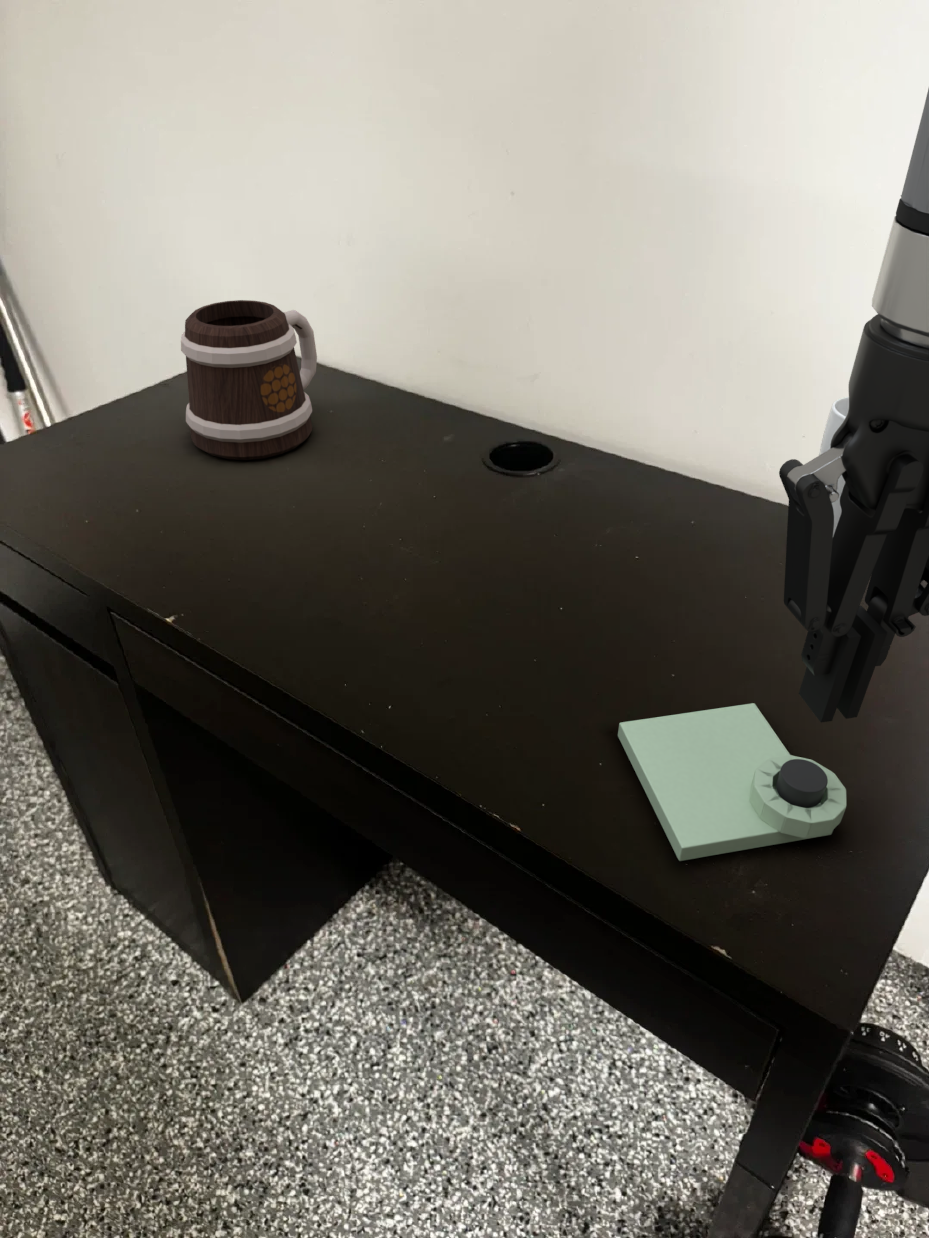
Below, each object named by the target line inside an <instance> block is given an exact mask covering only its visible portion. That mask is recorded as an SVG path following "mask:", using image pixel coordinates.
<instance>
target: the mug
mask: <svg viewBox="0 0 929 1238" xmlns="http://www.w3.org/2000/svg"><path fill="white" fill-rule="evenodd" d="M295 332H296V333H295ZM296 334H297V335H298V342H297V335H296ZM297 343H299V349H300V350H299V351H300V356H301V361H300V362H301V363H300V365H301V366H300V368H299V364H298V360H297V354H296V350H295V346H296V344H297ZM180 351H181V353H183V354H184V356H185V366H186V377H187V379H186V380H187V390H188V403H187V404H186V409H185V422H186V424H187V426H189V430H190V431H189V432H190V440H191V441H192V442H193V444H194V446H196V448H198V449H200V450H201V451H203V452H205V453H207V454H209V455H211V456H213V457H217V458H221V459H226V460H235V461H236V460H237V461H252V460H260V459H261V460H262V459H267V458H271V457H276V456H280V455H283V454H285V453H287V452H290V451H292V450H295V449H296V448H297V447H299V446H300V445H301V444H303V443H304V442H305V441H306V440H307V439H308V438H309V436H310V434H311V433H312V431H313V424H312V418H311V415H312V413H313V407H312V402H311V398H310V396H309V395H308V394H307V393H306V392H305V389H307V388H308V387H309V385H310V384H311V381H312V380H313V378H314V376H315V374H316V373H317V363H318V355H317V346H316V340H315V333H314V330H313V328H312V326H311V324H310V322H309V321H308V318H307V317H306V316H304V315H303V314H302V313H300V312H299V311H297V310H295V309H291V310H287V311H283V310H282V309H280V308H278V307H277V306H276V305H274V304H271V303H268V302H265V301H260V300H259V301H258V300H250V299H249V300H247V299H235V300H224V301H219V302H213V303H210V304H207V305H202V306H201V307H198V308H197V309H195V310H193V312H192V313H190V315H189V316H188V317H187V318H186V319H185V321H184V331H183V332H182V334H181V336H180Z"/></svg>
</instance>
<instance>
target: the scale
mask: <svg viewBox="0 0 929 1238" xmlns="http://www.w3.org/2000/svg"><path fill="white" fill-rule="evenodd" d="M617 738H618V739H619V741H620V743H621V745H622V747H623V749H624V752H625V754H626V756H627V758H628V761H630V764H631V765H632V768H633V770H634V771H635V774H636V776H637V778H638V780H639V782H640V785H641V786H642V788H643V790H644V792H645V794H646V797H647V798H648V801H649V803H650V805H651V808H652V809H653V811H654V813H655V815H656V818H657V819H658V821H659V823H660V825H661V827H662V829H663V831H664V833H665V835H666V837H667V839H668V841H669V844H670V845H671V847H672V849H673V851H674V854H675V856H676V858H677V860H678V861H679V862H683V861H689V860H694V859H699V858H705V857H706V858H707V857H712V856H716V855H717V856H718V855H723V854H728V853H735V852H739V851H740V852H741V851H746V850H752V849H757V848H763V847H769V846H773V845H774V846H775V845H780V844H786V843H792V842H797V841H802V840H809V839H814V838H820V837H826V836H831V835H832V834H833V832H834V829H836V828H837V826H839V825H840V824H841V822H842V820H843V817H844V814H845V812H846V810H847V788H846V787H845V785H844V784H843V783H842V782H841V780H840V778H838V776H837V775H836V773H834V772H833V771H832V770H830V769H828V768H827V767H825V766H823V765H822V764H820V763H818V762H817V761H815V760H813V759H809V758H807V757H800V756H797V755H792V754H791V753H790V752H789V751H788V750H787V748H786V746H785V745H784V744H783V743H782V741H781V739H780V738H779V736H778V735H777V734H776V732H775V731H774V729H773V728H772V726H771V725H770V723H769V722H768V720H767V719H766V717H765V716H764V714H762V712H761V711H760V709H759V708H758V706H757V704H756V703H755V702H754V703H753V702H751V703H745V704H738V705H732V706H725V707H724V706H723V707H719V708H711V709H705V710H697V711H691V712H683V713H677V714H671V715H663V716H657V717H650V718H649V717H648V718H643V719H635V720H628V721H623V722H619V724H618V730H617ZM793 759H802V760H807V761H810V762H812V763H814V764H816V765H818V766H819V767H820V768H821V769H822V770H823V771H824V772H825V774H826V776H827V779H828V783H827V786H826V789H825V792H824V795H823V798H822V800H821V802H820V803H819V804H818V805H816V806H814V807H809V808H803V807H798V806H794V805H791V804H789V803H788V802H786V801H785V800H784V799H782V798H781V797H780V795H779V794H778V792H777V789H776V782H777V779H778V776H779V773H780V769H781V767H782V765H783V764H784V763H785V762H787V761H789V760H793Z"/></svg>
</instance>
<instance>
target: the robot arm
mask: <svg viewBox="0 0 929 1238" xmlns="http://www.w3.org/2000/svg"><path fill="white" fill-rule="evenodd" d="M888 235H889V236H888V239H887V243H886V247H885V250H884V254H883V258H882V262H881V265H880V268H879V271H878V276H877V279H876V283H875V287H874V291H873V294H872V298H871V307H872V308H873V309H874V311H875V313H876V314H875V315H874V316H872V318H871V319H869V320H868V321H866V322H865V324H864V326H863V328H862V332H861V337H860V340H859V343H858V346H857V350H856V355H855V358H854V361H853V365H852V368H851V373H850V377H849V380H848V397H849V410H848V414H847V416H846V418H845V420H844V421H843V423H842V424H841V426H840V427H839V428H838V429H837V431H836V432H835V433H834V435H833V437H832V440H831V444H830V449H829V450H828V451H826V452H824V453H823V454H821V455H819V454H818V456H816V457H814V458H812V459H811V460H809V461H807V462H805V463H804V464H803V463H802V462H801V461H800V460H798V459H797V458H796V459H795V458H791V459H788V460H787V461H785V462H784V463H783V464H782V465H781V466H780V468H779V472H778V475H779V479H780V481H781V483H782V487H783V488H784V491H785V493H786V496H787V498H788V506H787V509H788V510H787V527H786V529H787V530H786V546H785V547H786V548H785V550H786V551H785V565H784V566H785V567H784V584H783V585H784V586H783V587H784V588H783V604H784V605H785V607H786V608H787V609H788V611H789V612H790V613H791V614H792V615H793V616H794V617H795V618H796V620H797V621H798V622H799V623H800V625H802V627H803V628H804V629H805V630H806V632H807V634H806V637H805V640H804V643H803V648H802V651H801V655H800V656H801V661H802V662H803V664H804V665H805V667H806V668H805V672H804V674H803V677H802V681H801V683H800V684H801V685H800V688H799V691H798V695H799V696H800V698H801V699H802V700H803V702H804V703H805V704H806V705H807V707H808V708H809V709H810V711H811V712H812V714H813V715H814V716H815V718H817V720H818V722H820V723H821V724H822V723H827V722H832V721H833V720H834V717H835V715H836V711H837V710H838V711H839V712H840V713H841V715H842V716H843V717H844V718H845V719H846V720H847V719H854V718H857V717H858V716H859V714H860V713H859V712H860V710H861V707H862V704H863V701H864V699H865V696H866V693H867V691H868V688H869V685H870V682H871V680H872V677H873V674H874V671H875V668H876V667H881V666H882V665H883V663H884V662H885V661H886V659H887V657H888V654H889V651H890V649H891V645H892V643H893V641H894V638H895V635H896V636H897V637H899V638H904V637H907V636H909V635H910V634H912V633H913V632H914V631H915V629H916V628H917V626H916V625H915V624H914V623H913V622H912V621H911V620H910V619H909V617H911V616H914V615H915V614H918V613H919V614H920V615H921V616H924V617H927V616H929V87H928V89H927V93H926V97H925V101H924V104H923V109H922V113H921V117H920V121H919V125H918V129H917V133H916V136H915V141H914V145H913V149H912V153H911V156H910V160H909V164H908V167H907V172H906V175H905V179H904V183H903V187H902V191H901V194H900V198H899V200H898V204H897V207H896V211H895V216H893V221H892V225H891V228H890V231H889V234H888ZM841 475H842V476H843V478H844V481H845V485H844V488H843V490H842V493H841V496H840V506H841V510H842V512H841V515H840V518H839V521H838V524H837V527H836V530H835V533H834V536H833V529H834V511H833V507H832V503H833V502H835V501H837V500H838V498H839V493H838V492H837V482H838V479H839V477H840V476H841ZM923 581H925V582H926V585H925V586H924V585H923V584H922V583H923ZM864 595H865V596H864ZM863 598H864V603H865V604H866V605H867V609H865V607H863V606H862V605H861V603H862V600H863Z"/></svg>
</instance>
